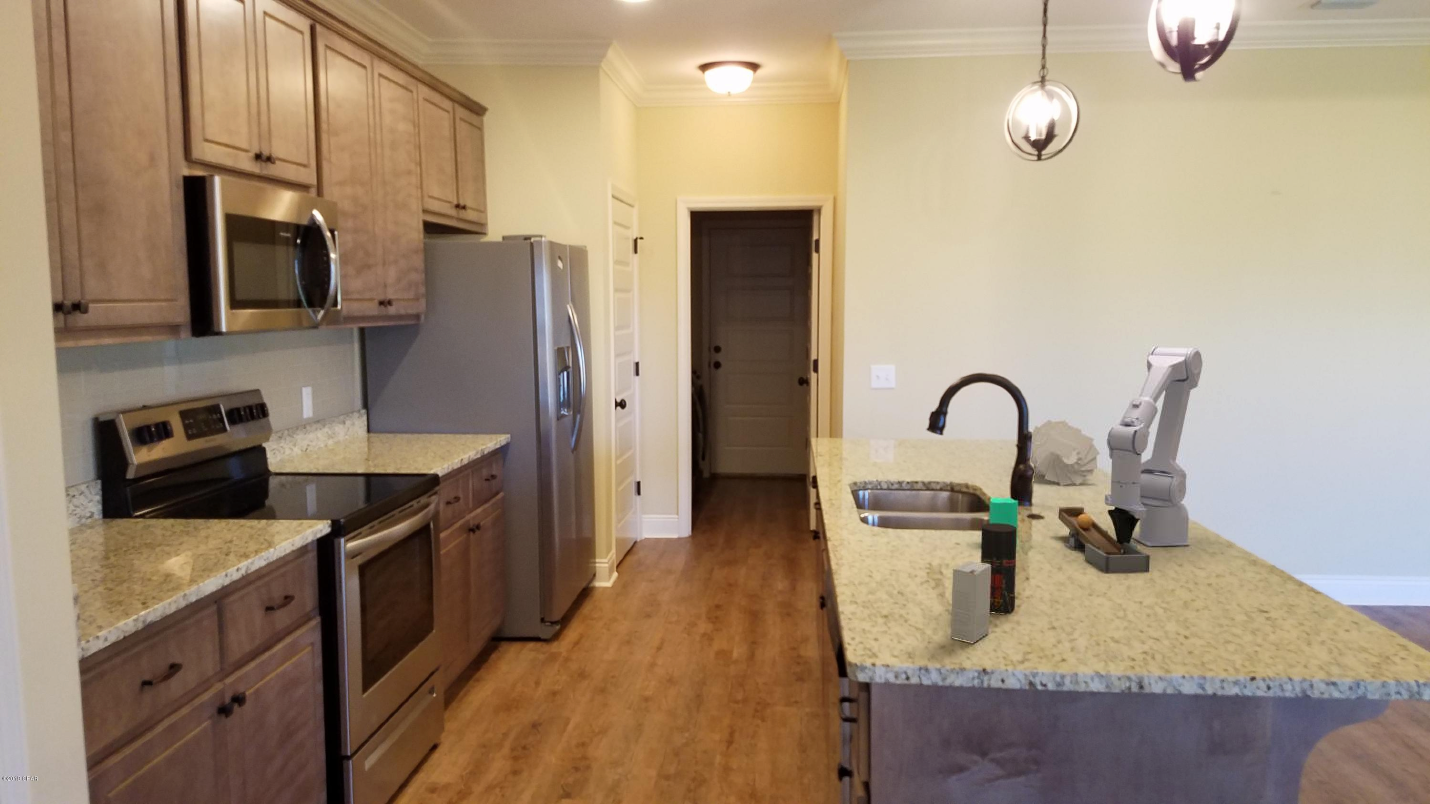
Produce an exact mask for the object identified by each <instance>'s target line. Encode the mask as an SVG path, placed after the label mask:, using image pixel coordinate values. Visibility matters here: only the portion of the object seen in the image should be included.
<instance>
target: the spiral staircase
mask: <svg viewBox="0 0 1430 804" xmlns="http://www.w3.org/2000/svg"><path fill="white" fill-rule="evenodd" d="M1032 434H1033V442H1032V457H1031V462H1030V463H1031V464H1032V465H1033V466H1034V468H1033V469H1038V470H1039V471H1038V475H1042V476H1045V477H1044V480H1048V481H1051V482H1054V481H1055V482H1056V483H1059V486H1060V487H1062V486H1066V485H1070V484H1074V483H1075V484H1076V485H1077V486H1078V485H1079V484H1081V483H1082V481H1084V480H1085V479H1086V478H1087V477H1093V475H1094V471H1095V470H1098V462H1097V461H1098V459H1097V456H1099V455H1101V453H1100V451H1099V450H1098V448H1097V447H1096V446H1095V444H1094V443H1093V442H1094V440H1095V439H1094V438H1092V437H1090V436H1088V435H1087V434H1084V433H1082V429H1079V428H1078V427H1074V426H1071V425H1069V422H1066V420H1058V421H1052V420H1051V419H1048V420H1047V421H1046V422H1044V423H1042V424H1041V425H1039V426H1037V425H1035V426H1034V429H1033V431H1032V432H1031V435H1032ZM1055 482H1054V483H1055Z"/></svg>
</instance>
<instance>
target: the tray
mask: <svg viewBox="0 0 1430 804" xmlns="http://www.w3.org/2000/svg"><path fill="white" fill-rule="evenodd" d="M1084 559H1085V560H1086V561H1087V562H1089V563H1090V564H1092V565H1094V567H1096V568H1098V569H1099V570H1100V571H1102V572H1104V573H1137V572H1139V573H1140V572H1142V573H1143V572H1147V573H1148V572H1150V562H1151V561H1150V560H1151V555H1149V554H1147V553H1146V552H1144V551H1143V550H1141V549H1139V548H1138V547H1137V548H1135V547H1134V546H1132V545H1130V544H1128V543H1123V550H1122V554H1121V555H1106V554H1105V553H1103V552H1102V551H1100V550H1098V549H1097V548H1095V547H1093V546H1092V545H1090V544H1085V550H1084Z"/></svg>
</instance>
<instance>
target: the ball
mask: <svg viewBox="0 0 1430 804" xmlns="http://www.w3.org/2000/svg"><path fill="white" fill-rule="evenodd" d="M1086 514H1087V513H1086ZM1086 514H1082V515H1080V516H1079V517H1078V518H1077V524H1078V526H1079V527H1081V528H1084V529H1086V528H1089V527H1090V526H1091V525H1092V519H1093V518H1092V517H1091V516H1090V515H1088V514H1087V515H1086ZM1091 518H1092V519H1091Z"/></svg>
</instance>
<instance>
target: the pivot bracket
mask: <svg viewBox="0 0 1430 804" xmlns="http://www.w3.org/2000/svg"><path fill="white" fill-rule="evenodd" d="M1105 531H1106V532H1107V533H1108V534H1109V531H1108V530H1105ZM1068 537H1069V538H1068V539H1069V541H1068V542H1069V543H1064V546H1066V548H1068V549H1070V550H1072V551H1073V552H1075V551H1078V552H1079V551H1085V544H1084V543H1083V542H1082V541H1081V540H1080V539H1079V538H1078V537H1077V532H1076V531H1074V530H1069V531H1068Z"/></svg>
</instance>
